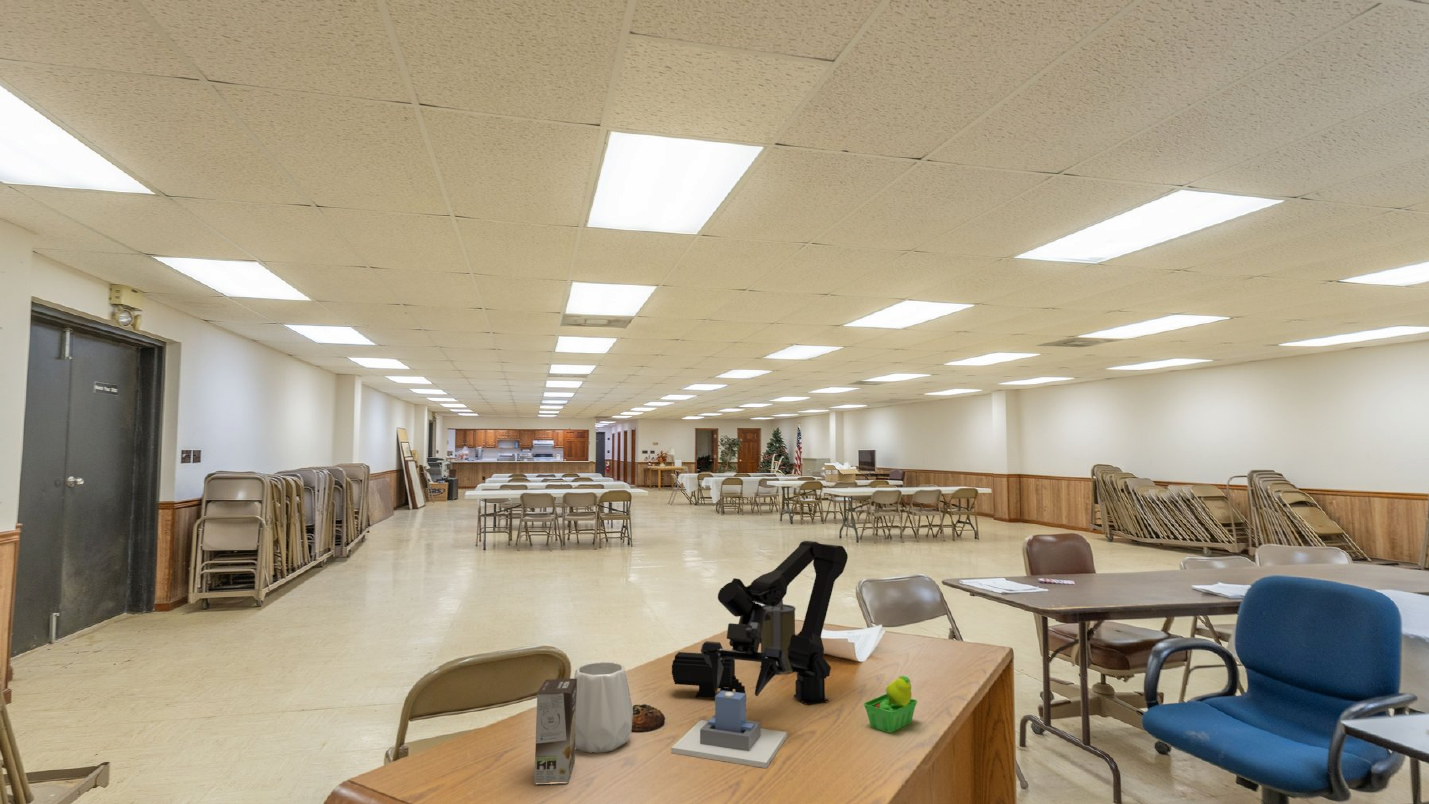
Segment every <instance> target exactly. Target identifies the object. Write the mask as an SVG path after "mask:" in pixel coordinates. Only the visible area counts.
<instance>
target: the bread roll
mask: <svg viewBox="0 0 1429 804" xmlns="http://www.w3.org/2000/svg"><path fill="white" fill-rule="evenodd" d="M632 708H633V718H632V730H631V733H632V732H634V733H635V732H649V731H653V730H658V729H659V728H661V727H663V726H664V725H665V720H666V716H665V715H664V714H663V712H662V711H661V710H660V709H658V708H656V707H655V706H651V705H650V704H646V703H642V704H633V705H632Z"/></svg>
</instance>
